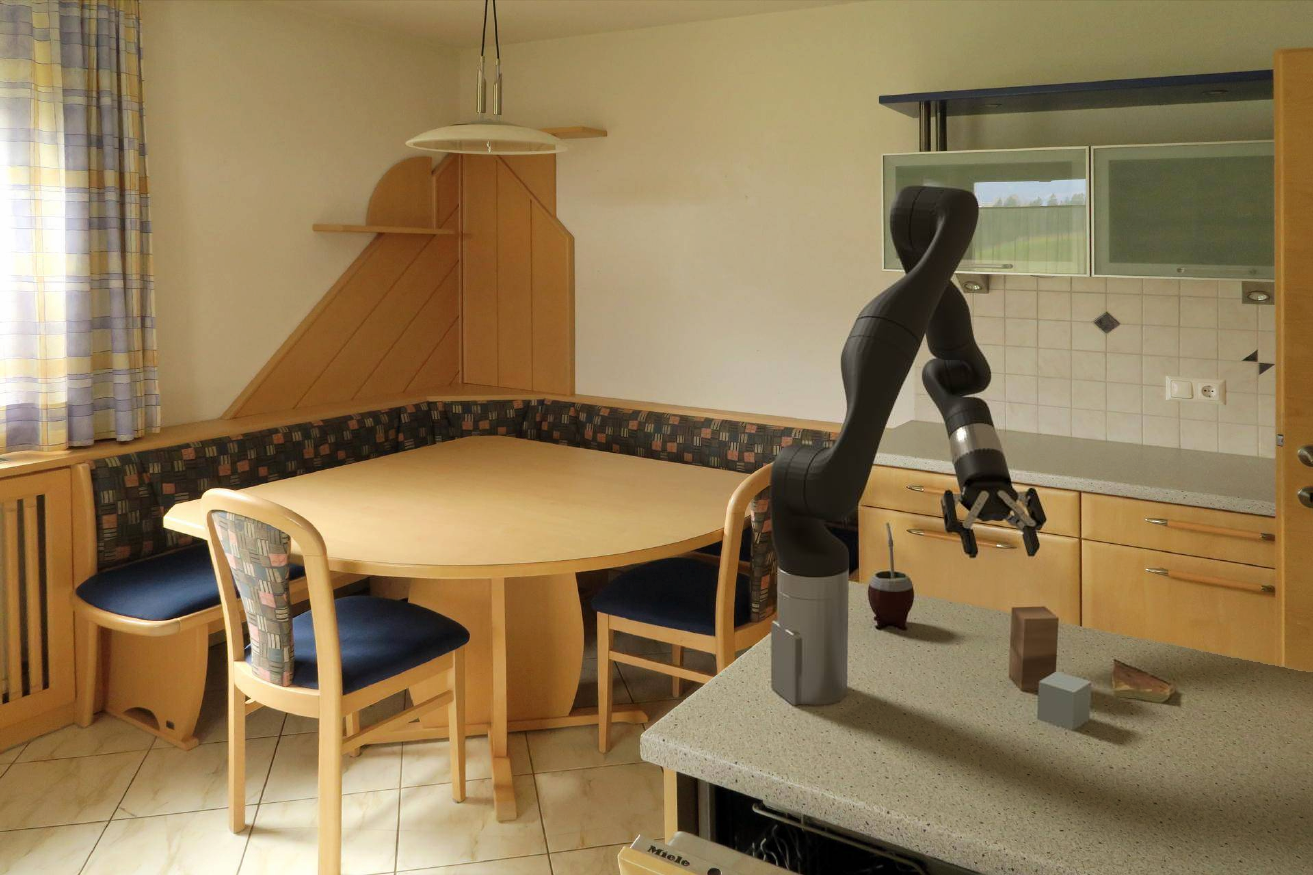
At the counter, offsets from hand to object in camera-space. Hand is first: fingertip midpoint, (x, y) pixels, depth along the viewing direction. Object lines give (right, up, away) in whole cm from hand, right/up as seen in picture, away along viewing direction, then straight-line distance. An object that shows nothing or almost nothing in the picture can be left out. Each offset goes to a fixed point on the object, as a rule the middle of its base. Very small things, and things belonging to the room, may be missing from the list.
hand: (1003, 554), depth 147 cm
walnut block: (+1, -16, -9) cm, 19 cm away
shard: (+13, -17, -10) cm, 24 cm away
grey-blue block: (+1, -18, -19) cm, 27 cm away
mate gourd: (-13, -13, +14) cm, 23 cm away
